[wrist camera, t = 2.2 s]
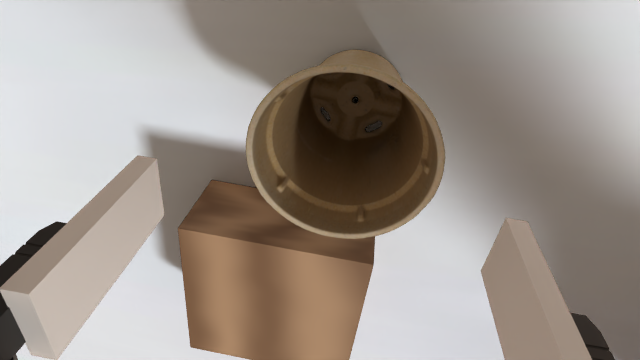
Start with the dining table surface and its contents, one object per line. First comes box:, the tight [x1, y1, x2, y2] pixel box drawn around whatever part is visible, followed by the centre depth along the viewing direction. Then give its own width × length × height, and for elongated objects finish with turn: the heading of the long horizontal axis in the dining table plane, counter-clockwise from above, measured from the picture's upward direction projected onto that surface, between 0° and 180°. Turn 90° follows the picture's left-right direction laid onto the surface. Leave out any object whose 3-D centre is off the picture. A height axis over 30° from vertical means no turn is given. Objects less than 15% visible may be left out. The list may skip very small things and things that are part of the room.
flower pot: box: [246, 49, 445, 239], centre depth 23 cm, size 9×9×9 cm
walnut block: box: [178, 180, 375, 360], centre depth 32 cm, size 13×13×6 cm
